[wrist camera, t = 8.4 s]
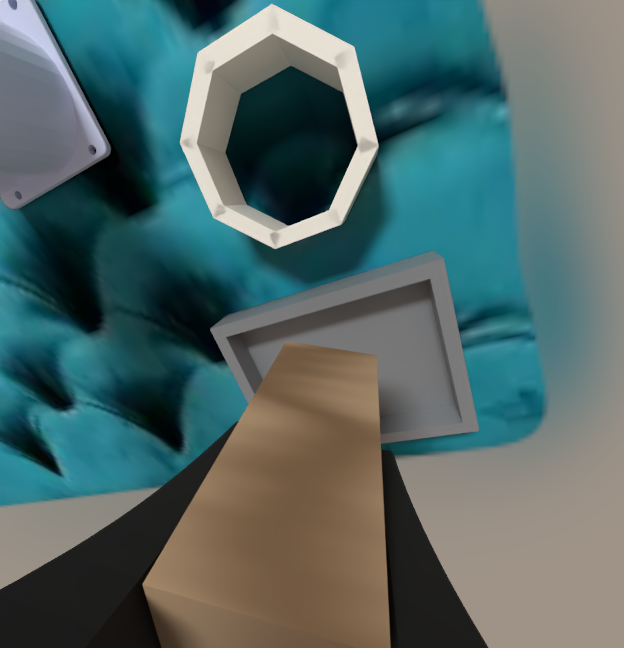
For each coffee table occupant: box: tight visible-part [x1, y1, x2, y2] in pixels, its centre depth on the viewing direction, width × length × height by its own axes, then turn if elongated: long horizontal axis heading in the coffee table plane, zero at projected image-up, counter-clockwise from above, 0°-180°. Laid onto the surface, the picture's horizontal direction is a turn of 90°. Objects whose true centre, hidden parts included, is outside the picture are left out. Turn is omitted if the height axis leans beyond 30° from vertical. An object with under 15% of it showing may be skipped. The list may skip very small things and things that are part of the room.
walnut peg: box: [142, 341, 391, 648], centre depth 9 cm, size 4×4×9 cm
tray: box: [210, 251, 479, 444], centre depth 19 cm, size 14×11×2 cm
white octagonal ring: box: [180, 4, 379, 249], centre depth 14 cm, size 9×9×3 cm
